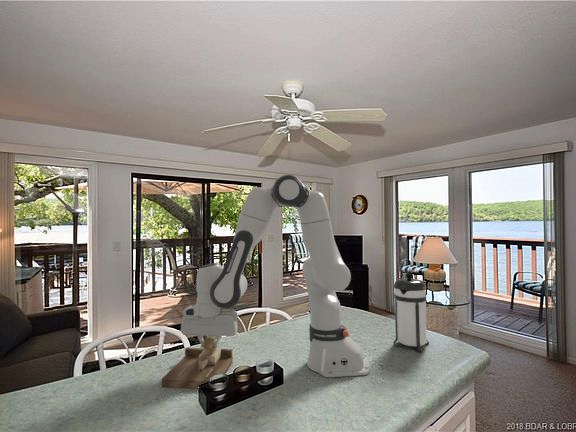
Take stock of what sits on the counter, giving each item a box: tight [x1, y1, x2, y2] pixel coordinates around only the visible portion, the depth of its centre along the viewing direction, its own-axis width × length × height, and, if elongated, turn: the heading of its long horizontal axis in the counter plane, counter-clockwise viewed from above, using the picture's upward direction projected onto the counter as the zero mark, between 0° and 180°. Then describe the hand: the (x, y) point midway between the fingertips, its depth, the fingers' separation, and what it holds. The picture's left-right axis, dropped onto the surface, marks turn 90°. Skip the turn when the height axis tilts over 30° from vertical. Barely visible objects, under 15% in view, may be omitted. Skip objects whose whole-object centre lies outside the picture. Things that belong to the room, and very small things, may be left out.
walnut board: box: [161, 347, 233, 390], centre depth 104 cm, size 18×18×5 cm
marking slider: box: [198, 336, 222, 372], centre depth 105 cm, size 6×12×8 cm, turn 174°
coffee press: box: [392, 272, 430, 353], centre depth 127 cm, size 17×16×30 cm
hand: (209, 347), depth 108 cm, fingers closed on marking slider, 3 cm apart
